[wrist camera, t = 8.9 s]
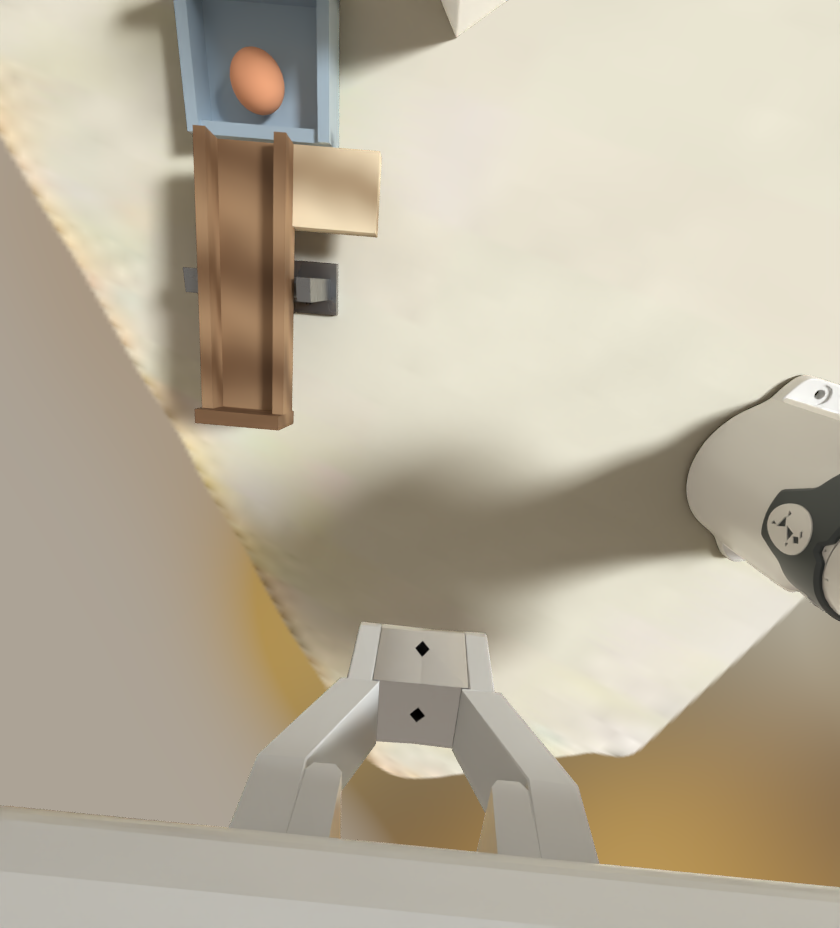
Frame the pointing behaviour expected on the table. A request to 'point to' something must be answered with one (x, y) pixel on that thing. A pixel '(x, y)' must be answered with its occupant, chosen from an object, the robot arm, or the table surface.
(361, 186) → the lever
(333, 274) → the pivot stand
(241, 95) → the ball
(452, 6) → the milk
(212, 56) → the light blue open box
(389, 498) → the table surface
